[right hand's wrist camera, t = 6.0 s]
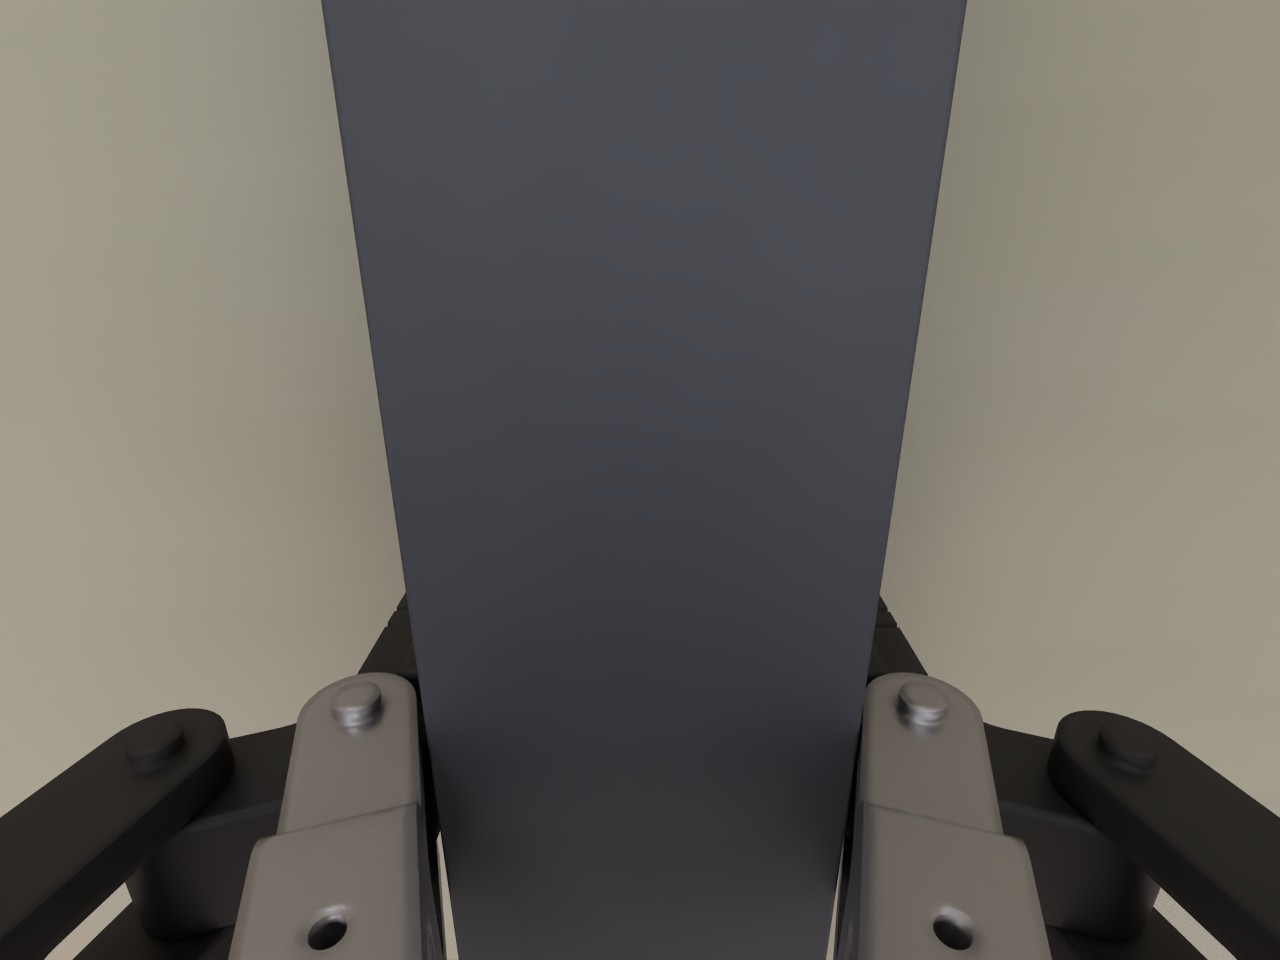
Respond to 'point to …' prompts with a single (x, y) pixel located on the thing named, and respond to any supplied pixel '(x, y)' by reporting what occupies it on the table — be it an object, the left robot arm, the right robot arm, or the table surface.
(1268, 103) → the table surface
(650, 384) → the post
